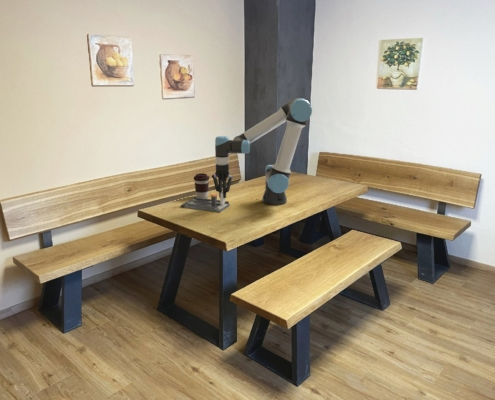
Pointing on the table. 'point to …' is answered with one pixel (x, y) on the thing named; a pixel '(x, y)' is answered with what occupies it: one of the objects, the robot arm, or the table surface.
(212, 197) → the lever
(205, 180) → the coffee cup
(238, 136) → the robot arm
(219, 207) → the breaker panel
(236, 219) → the table surface
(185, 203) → the grey panel edge rail
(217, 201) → the long dark grey rail
